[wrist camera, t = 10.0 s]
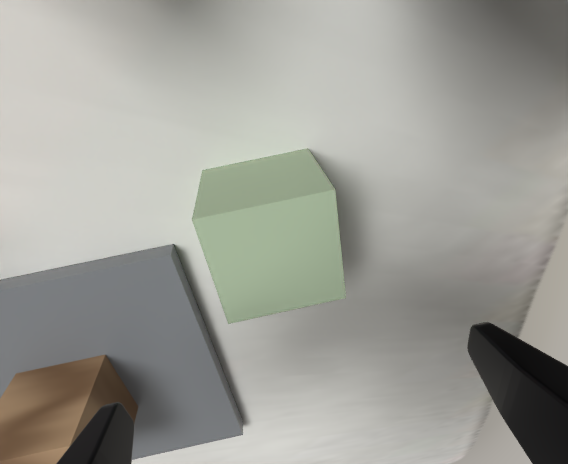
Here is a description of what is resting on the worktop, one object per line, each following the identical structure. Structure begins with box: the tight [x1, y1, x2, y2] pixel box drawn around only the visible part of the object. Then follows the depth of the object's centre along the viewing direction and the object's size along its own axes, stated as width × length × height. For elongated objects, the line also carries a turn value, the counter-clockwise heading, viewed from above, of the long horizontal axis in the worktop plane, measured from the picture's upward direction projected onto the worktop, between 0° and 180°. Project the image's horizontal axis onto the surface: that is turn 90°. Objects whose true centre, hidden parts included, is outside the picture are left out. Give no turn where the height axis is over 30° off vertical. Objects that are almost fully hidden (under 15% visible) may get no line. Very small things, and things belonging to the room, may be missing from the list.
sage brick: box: [192, 149, 346, 324], centre depth 15 cm, size 5×5×5 cm
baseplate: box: [0, 244, 243, 460], centre depth 21 cm, size 16×16×1 cm
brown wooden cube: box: [0, 355, 138, 464], centre depth 18 cm, size 5×5×5 cm
